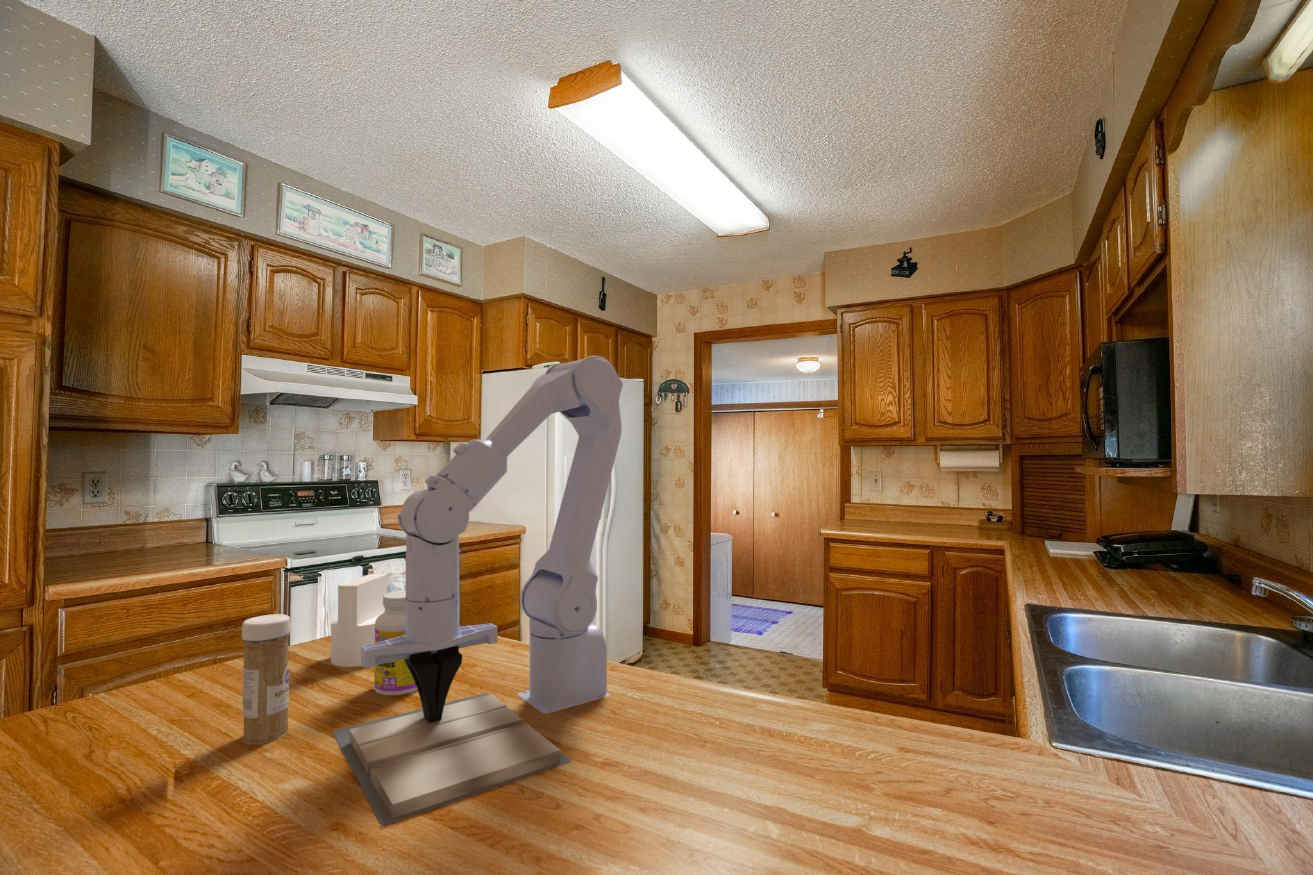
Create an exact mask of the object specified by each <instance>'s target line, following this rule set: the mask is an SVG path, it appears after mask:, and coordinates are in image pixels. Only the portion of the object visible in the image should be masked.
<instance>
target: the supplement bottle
mask: <svg viewBox="0 0 1313 875" xmlns="http://www.w3.org/2000/svg"><path fill="white" fill-rule="evenodd" d="M383 605H384V607H385V612H384V613H382V614H381V615H379V616H378V618H377V619H376V621H375V643H378V642H381V641H385V640H388V639H392V638H396V637H399V636H403V635H405V618H406V589H405V590H395V591H391V592H387V594H385V595H384V596H383ZM373 683H374V684H373V685H374V691H375V693H377V694H379V695H383V696H400V695H405V694H406V695H407V694H410V693H414V692H418V689H417V687H416V684H415V682H414V679H413V677H412V675H411V673H410V671H409V669H408V667H407V665H406V663H405V661H404V659H402V660H397V661H392V662H387V663H382V664H377V665H376V666H375V667H374V682H373Z"/></svg>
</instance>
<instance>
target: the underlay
mask: <svg viewBox="0 0 1313 875" xmlns="http://www.w3.org/2000/svg"><path fill="white" fill-rule="evenodd" d="M487 695H489V694H488V693H487V692H484V693H481V694H477V695H472V696H469V697H464V698H460V699H457V700H452V701H451V700H450V701H447V702H445V705H444V706H446V705H450V704H454V703H458V702H463V701H467V700H471V699H475V698H479V697H483V696H487ZM422 711H423V708H420V709H415V710H410V711H407V712H402V713H399V714H398V713H397V714H394V715H391V716H388V717H382V718H379V719H378V718H377V719H375V720H370V721H365V722H361V723H358V724H354V725H349V726H347V727H346V726H345V727H342V728H338V729H333V730H331V733H332V734H333V736H334V738H335V741H336V742H337V744H338V746H339V748H340V749H341V751H342V753H343V755H344V757H345V760H346V761H347V763H348V765H349V767H350V769H351V771H352V773H353V775H354V776H355V778H356V780H357V782H358V784H359V786H360V787H361V790H362V791H363V793H364V795H365V797H366V799H367V801H368V803H369V805H370V806H371V809H372V810H373V813H374V814H375V816H376V819H377V820H378V823H379V824H380V826H381V827H384V826H387V825H390V824H393V823H396V822H398V821H401V820H405V819H408V818H410V817H413V816H416V815H419V814H422V813H424V812H428V811H431V810H434V809H437V808H439V807H442V806H445V805H449V804H451V803H454V802H457V801H460V800H462V799H463V800H464V799H466V798H469V797H472V796H474V795H478V794H480V793H483V792H486V791H489V790H492V789H495V788H497V787H500V786H503V785H507V784H510V783H512V782H513V783H514V782H515V781H518V780H519V781H520V780H521V779H525V778H527V777H530V776H533V775H535V774H536V775H537V774H539V773H542V772H545V771H548V770H550V769H553V768H556V767H559V766H563V765H565V764H569V763H571V762H572V760H571V759H570V758H569V757H567V756H566V755H565V754H563V753H562V752H561V751H560V762H559V763H556V764H553V765H550V766H547V767H544V768H541V769H538V770H535V771H532V772H529V773H526V774H523V775H520V776H518V777H515V778H512V779H509V780H506V781H503V782H500V783H497V784H494V785H491V786H488V787H485V788H482V789H479V790H476V791H473V792H470V793H467V794H464V795H461V796H458V797H455V798H452V799H450V800H447V801H444V802H441V803H438V804H435V805H432V806H429V807H426V808H423V809H420V810H417V811H414V812H411V813H408V814H405V815H402V816H399V817H396V818H392V817H391V815H390V813H389V811H388V810H387V808H386V806H385V804H384V802H383V801H382V799H381V797H380V795H379V794H378V792H377V790H376V788H375V787H374V785H373V783H372V781H371V774H369V775H368V774H367V772H366V770H365V768H364V767H363V765H362V763H361V761H360V759H359V757H358V755H357V753H356V751H355V750H354V748H353V746H352V744H351V742H350V729H353V728H357V727H362V726H366V725H370V724H374V723H378V722H382V721H386V720H390V719H394V718H398V717H402V716H406V715H410V714H414V713H418V712H422ZM523 723H524V722H523V721H522V724H523Z"/></svg>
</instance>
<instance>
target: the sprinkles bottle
mask: <svg viewBox="0 0 1313 875" xmlns="http://www.w3.org/2000/svg"><path fill="white" fill-rule="evenodd" d="M241 627H242V628H241V639H242V640H243V641H242V643H243V667H242V715H243V737H242V742H243V744H247V745H262V744H267V743H270V742H274V741H277V740H280V739H282V738H283V737H285V736H287V735H288V734H289V732H290V727H289V706H290V688H289V687H290V674H289V670H290V668H289V666H290V665H289V637H290V633H291V617H290V616H289V615H287V614H281V613H279V614H275V613H274V614H266V615H259V616H255V617H251V618H250V617H249V618H247V619H245V620H244V621H242V626H241Z"/></svg>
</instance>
